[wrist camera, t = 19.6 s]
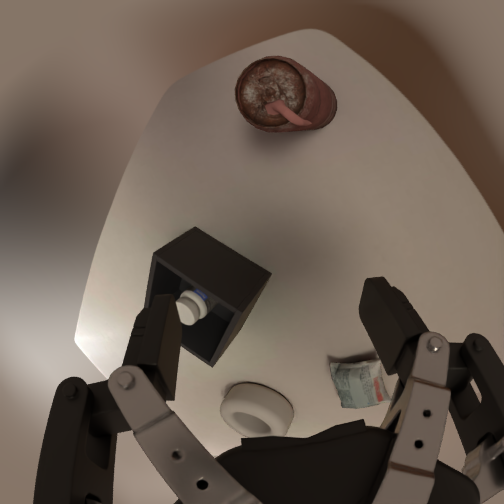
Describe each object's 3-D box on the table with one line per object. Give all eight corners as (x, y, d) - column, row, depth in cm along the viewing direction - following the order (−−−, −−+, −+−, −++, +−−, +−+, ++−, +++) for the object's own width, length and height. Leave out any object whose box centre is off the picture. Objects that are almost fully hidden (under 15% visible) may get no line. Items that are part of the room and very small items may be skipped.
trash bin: (177, 287, 51) (142, 317, 43) (195, 226, 43) (153, 252, 35) (240, 329, 49) (212, 367, 41) (272, 273, 41) (242, 312, 33)
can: (318, 141, 31) (280, 152, 20) (276, 108, 31) (216, 103, 20) (350, 102, 28) (332, 86, 16) (305, 70, 28) (259, 39, 16)
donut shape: (296, 427, 56) (286, 450, 51) (237, 413, 62) (225, 433, 57) (293, 389, 50) (282, 415, 45) (225, 373, 57) (209, 396, 51)
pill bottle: (228, 276, 43) (195, 306, 37) (228, 301, 46) (198, 332, 39) (202, 267, 45) (167, 295, 39) (204, 292, 47) (172, 320, 41)
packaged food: (383, 346, 38) (380, 370, 34) (392, 393, 41) (389, 415, 37) (331, 353, 43) (323, 375, 39) (347, 397, 46) (341, 418, 42)
